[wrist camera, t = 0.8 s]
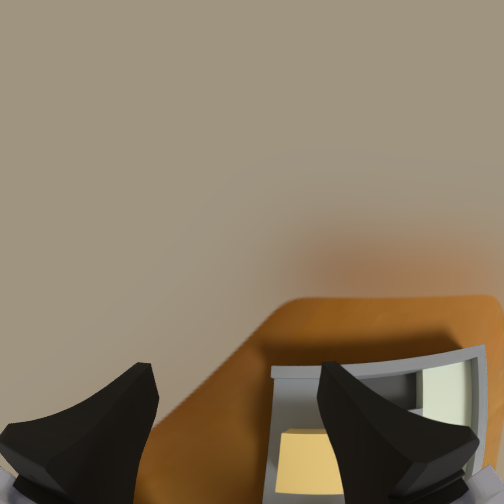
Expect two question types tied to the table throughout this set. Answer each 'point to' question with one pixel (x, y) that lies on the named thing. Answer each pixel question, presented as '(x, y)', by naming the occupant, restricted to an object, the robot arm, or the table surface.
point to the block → (307, 463)
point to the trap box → (392, 389)
